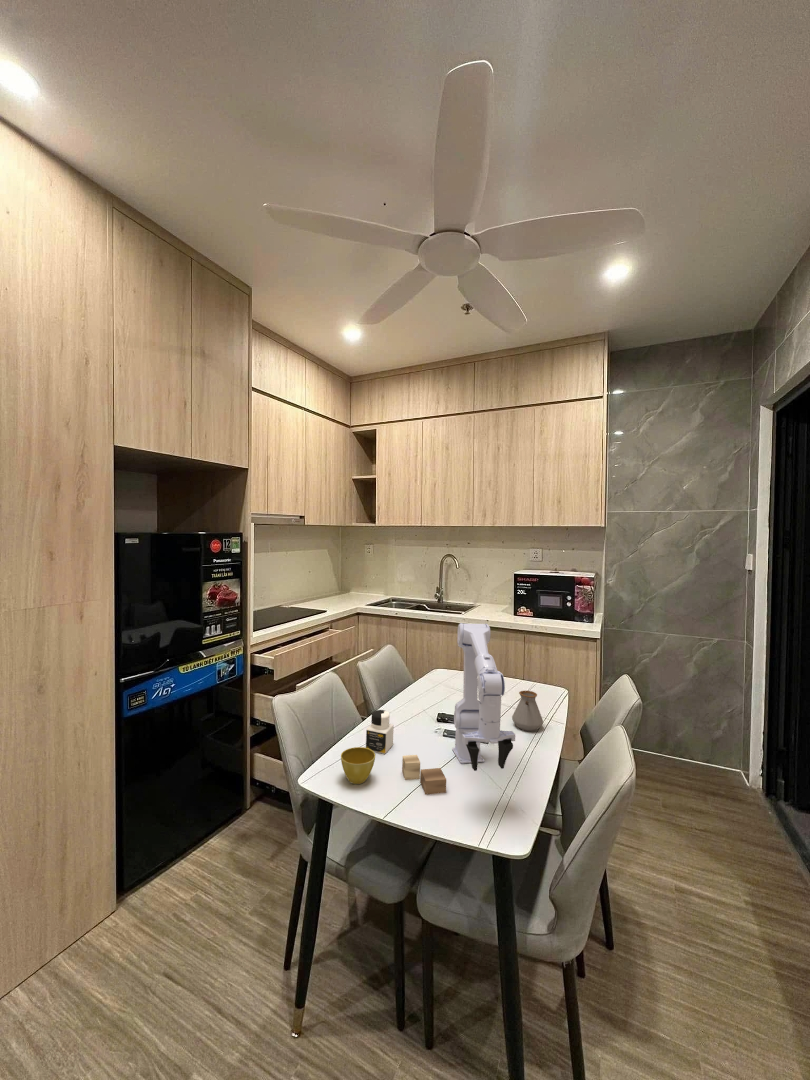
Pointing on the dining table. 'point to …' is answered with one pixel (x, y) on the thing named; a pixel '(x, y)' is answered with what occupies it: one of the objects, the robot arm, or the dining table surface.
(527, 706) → the coffee pot
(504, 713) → the dining table surface
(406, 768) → the beech cube
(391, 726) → the medicine bottle
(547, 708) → the dining table surface
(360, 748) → the flower pot
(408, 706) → the dining table surface
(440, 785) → the walnut plinth
